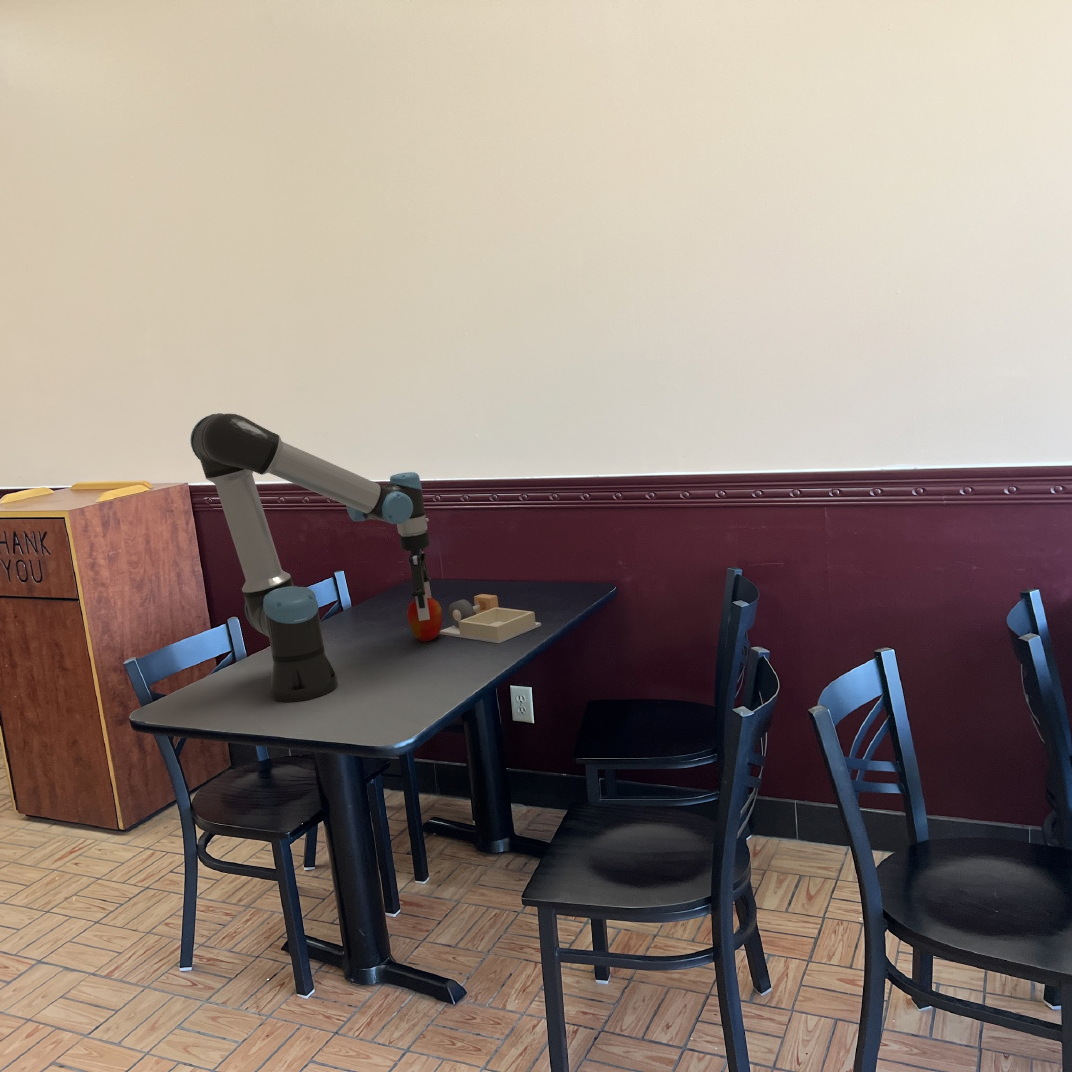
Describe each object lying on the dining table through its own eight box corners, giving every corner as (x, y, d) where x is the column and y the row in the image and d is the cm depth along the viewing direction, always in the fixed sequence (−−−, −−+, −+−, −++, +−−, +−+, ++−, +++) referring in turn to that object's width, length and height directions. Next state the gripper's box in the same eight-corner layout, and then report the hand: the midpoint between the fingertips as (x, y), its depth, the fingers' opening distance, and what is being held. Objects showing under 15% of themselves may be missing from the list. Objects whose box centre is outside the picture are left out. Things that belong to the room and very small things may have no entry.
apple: (437, 644, 248) (431, 599, 246) (405, 645, 251) (398, 600, 249) (450, 634, 257) (444, 590, 255) (418, 635, 259) (412, 591, 257)
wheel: (467, 629, 255) (464, 603, 254) (449, 626, 260) (446, 601, 259) (489, 621, 261) (486, 595, 260) (471, 618, 266) (468, 593, 265)
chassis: (498, 643, 243) (495, 616, 242) (439, 634, 258) (436, 608, 257) (541, 625, 255) (538, 600, 254) (482, 617, 270) (478, 593, 268)
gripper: (425, 540, 237) (438, 623, 241) (430, 522, 261) (442, 598, 265) (394, 544, 236) (408, 628, 240) (402, 526, 261) (414, 602, 265)
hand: (425, 612), depth 253 cm, fingers open, 13 cm apart
